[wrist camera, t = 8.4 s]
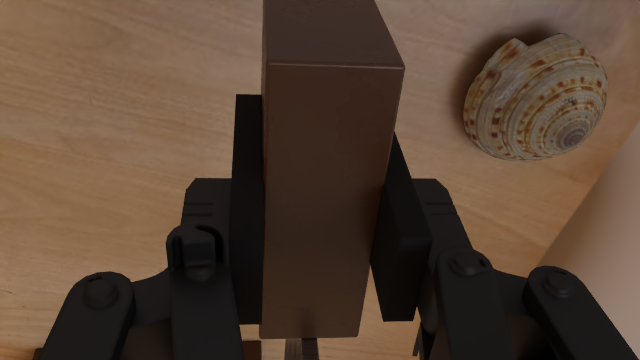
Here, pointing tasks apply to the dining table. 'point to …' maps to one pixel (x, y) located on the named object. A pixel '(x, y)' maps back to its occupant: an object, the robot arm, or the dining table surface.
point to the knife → (323, 163)
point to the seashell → (536, 99)
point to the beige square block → (252, 350)
